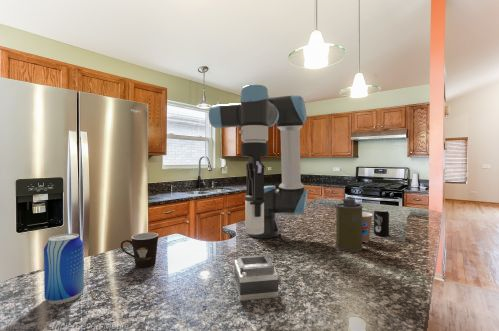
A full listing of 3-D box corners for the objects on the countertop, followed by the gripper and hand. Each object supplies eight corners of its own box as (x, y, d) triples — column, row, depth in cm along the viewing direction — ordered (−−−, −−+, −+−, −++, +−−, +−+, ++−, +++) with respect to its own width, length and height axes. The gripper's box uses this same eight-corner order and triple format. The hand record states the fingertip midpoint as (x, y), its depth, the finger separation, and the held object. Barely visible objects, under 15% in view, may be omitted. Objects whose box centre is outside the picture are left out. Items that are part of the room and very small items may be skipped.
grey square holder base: (234, 279, 80) (234, 255, 80) (267, 277, 82) (267, 253, 82) (240, 300, 68) (240, 271, 68) (278, 296, 70) (278, 268, 70)
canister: (349, 253, 102) (350, 201, 102) (330, 245, 112) (330, 198, 111) (369, 249, 107) (369, 199, 107) (348, 242, 117) (348, 196, 116)
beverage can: (390, 237, 124) (390, 211, 124) (375, 236, 125) (375, 211, 125) (386, 233, 130) (386, 208, 130) (372, 232, 132) (372, 208, 131)
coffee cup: (347, 242, 116) (347, 214, 116) (348, 236, 126) (348, 210, 126) (373, 245, 112) (373, 216, 112) (372, 238, 122) (372, 212, 122)
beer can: (58, 290, 74) (57, 232, 74) (89, 289, 74) (89, 232, 74) (36, 307, 65) (35, 242, 65) (72, 305, 66) (71, 241, 66)
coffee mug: (163, 261, 94) (163, 233, 94) (147, 271, 86) (146, 240, 86) (137, 258, 98) (137, 231, 98) (118, 266, 90) (118, 237, 90)
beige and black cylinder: (243, 230, 77) (243, 195, 77) (261, 229, 78) (261, 194, 78) (246, 235, 71) (246, 197, 71) (266, 234, 72) (266, 197, 72)
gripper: (236, 144, 83) (236, 219, 83) (246, 139, 65) (246, 235, 65) (260, 144, 84) (260, 218, 84) (276, 140, 66) (276, 233, 66)
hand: (254, 225), depth 75 cm, fingers closed on beige and black cylinder, 5 cm apart
